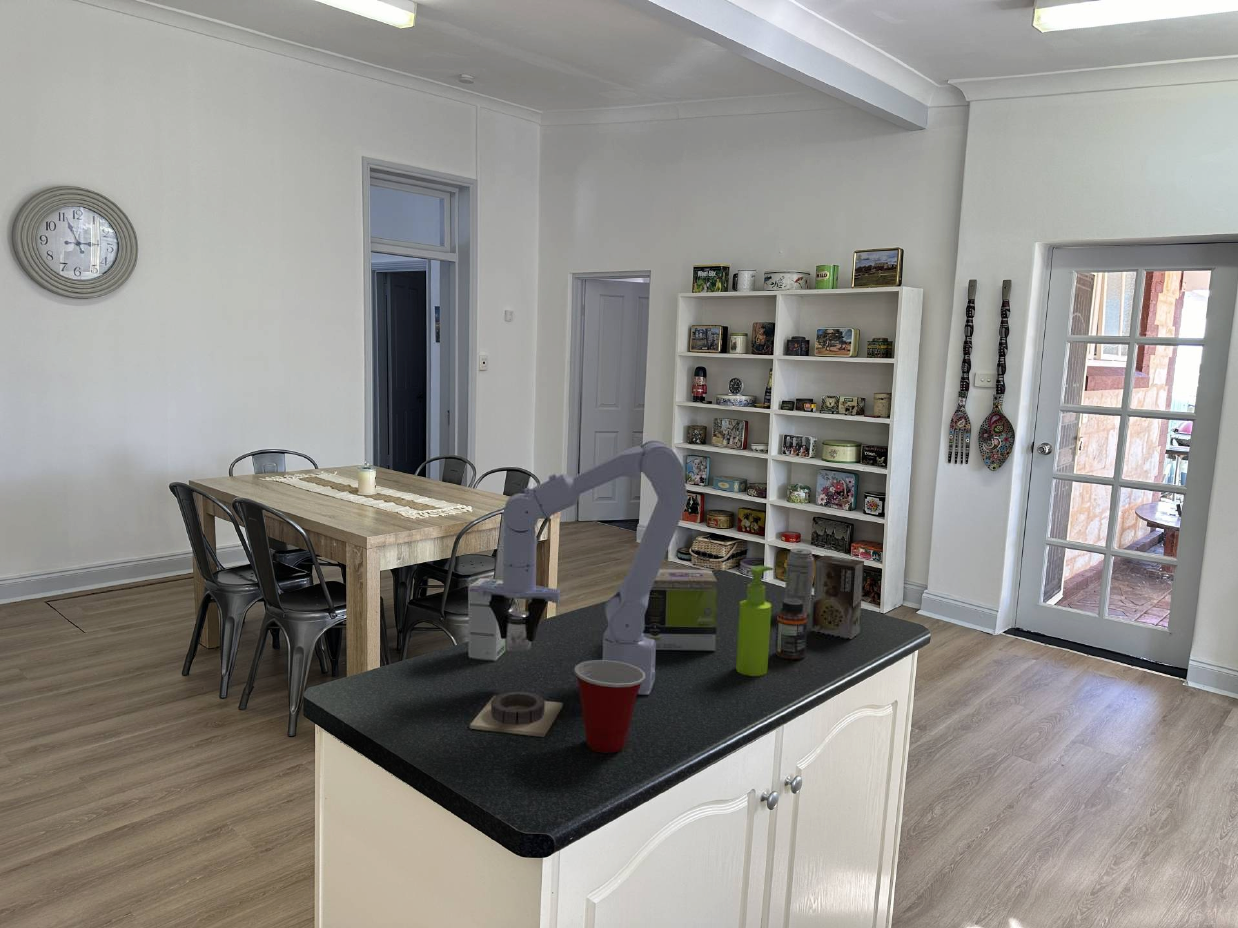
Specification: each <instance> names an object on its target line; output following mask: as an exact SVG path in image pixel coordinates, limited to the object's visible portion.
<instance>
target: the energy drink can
mask: <svg viewBox="0 0 1238 928" xmlns="http://www.w3.org/2000/svg"><path fill="white" fill-rule="evenodd" d="M812 553H813V552H812V551H811V550H810V549H806V548H791V549H790V552H789V554H787V558H786V570H785V571H786V572H785V589H784V590H785V591H784V599H788V598H792V599H798V600H801V601H803V611H804V612H805V613H806V614H807V615H808V616H809V614H810V613H811V608H812V607H811V606H812V594H813V592H812V591H813V581H814V580H813V578H814V566H815V565H814V564H815V557H814V556H813V554H812Z"/></svg>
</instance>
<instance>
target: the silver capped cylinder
mask: <svg viewBox="0 0 1238 928" xmlns="http://www.w3.org/2000/svg"><path fill="white" fill-rule="evenodd" d="M528 633H529V614H528V611H525V610H512V611H509V612H508V613H507V614H506V650H507V651H510V652H515V653H518V652H519V653H521V652H526V651H529V650H530V649H531V643H532V642H530V641H529V640H528Z"/></svg>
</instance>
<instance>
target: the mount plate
mask: <svg viewBox="0 0 1238 928" xmlns="http://www.w3.org/2000/svg"><path fill="white" fill-rule="evenodd" d="M562 708H563V702H559V701H558V702H557V701H546V700H544V698H543V696H541V695H539V694H536V693H534V692H530V691H521V690H519V691H517V690H516V691H508V692H506V693H505V692H503V693H500V694H498V695H492V698H491V699H490V700H489V701H488V702H487V703H486V705H485V706H484V707H483V709H481V711H480V712H479V713H478V714H477V715H476V717H475V718H474V719H473V720H472V721H471V723H470V724H469V729H472V730H481V731H488V732H489V731H490V732H498V733H506V734H514V735H515V734H516V735H523V736H524V735H525V736H533V737H542V738H545V736H546V735H547V733H548V731H549V729H550V727H551V726H552V724H553V722H554V721H555V720H556V718H557V716H558V715H559V713H560V711H561V710H562Z"/></svg>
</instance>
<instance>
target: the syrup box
mask: <svg viewBox="0 0 1238 928" xmlns="http://www.w3.org/2000/svg"><path fill="white" fill-rule="evenodd" d="M481 583H503V579H497V578H490V577H487V578H486V577H484V578H481V577H480V578H478V579H477V580H476V581H474V582H473V583H471V584H470V585H468V588H467V589H468V590H467V592H468V596H467V597H468V603H467V604H468V605H467V607H468V614H467V615H468V617H467V618H468V619H467V621H468V631H467V632H468V645H467V646H468V657H469V658H470V659H476V660H482V661H483V660H484V661H495V662H496V661H497V660H498V659H499V657H501V656H502V655H503V654H504V653H505V652H506V650H507V649H506V638H505V639H501V635H500V630H499V626H498V623H497V620H496V617H495V615H494V613H493V611H492V609H491V608H490V606H489V601H490V600H491V596H484V597H480V596H478V585H480V584H481Z"/></svg>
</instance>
